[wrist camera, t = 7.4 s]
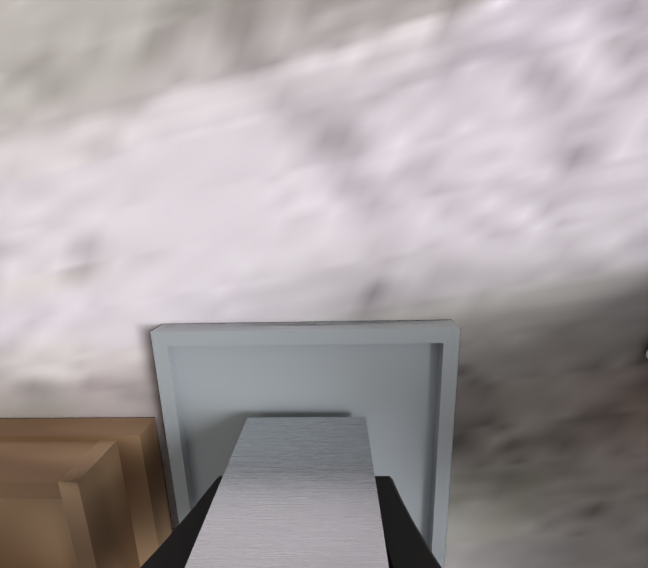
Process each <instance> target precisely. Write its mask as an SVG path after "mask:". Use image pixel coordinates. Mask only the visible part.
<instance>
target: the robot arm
mask: <svg viewBox="0 0 648 568" xmlns="http://www.w3.org/2000/svg"><path fill="white" fill-rule="evenodd" d="M222 477H223V476H219V477H218V478H217V479H216V480H215V481H214V482H213V484H212V485H211V486H210V487H209V489H208V490H207V491H206V492H205V494H204V495H203V496H202V497H201V499H200V500H199V501H198V502H197V503H196V505H195V506H194V507H193V508H192V510H191V511H190V512H189V513H188V514H187V516H186V517H185V518H184V519H183V520H182V521H181V523H180V524H179V525H178V526H177V527H176V528H175V530H174V531H173V532H172V533H171V534H170V535H169V537H168V538H167V539H166V540H165V541H164V542H163V543H162V545H161V546H160V547H159V548H158V549H157V550H156V551H155V552H154V553H153V554H152V555H151V556H150V557H149V559H148V560H147V561H146V562H145V563H144V564H143V565H142V566H141V567H140V568H185V566H186V563H187V561H188V559H189V556H190V554H191V552H192V549H193V547H194V544H195V542H196V540H197V537H198V535H199V532H200V530H201V528H202V525H203V523H204V520H205V518H206V516H207V513H208V511H209V508H210V506H211V504H212V501H213V499H214V496H215V494H216V492H217V489H218V487H219V484H220V482H221V480H222ZM375 480H376V487H377V493H378V500H379V506H380V513H381V519H382V526H383V532H384V539H385V545H386V552H387V558H388V565H389V568H442V567H441V566H440V564H439V563H438V561H437V560H436V558H435V556H434V555H433V553H432V552H431V550H430V548H429V547H428V545H427V543H426V542H425V540H424V538H423V537H422V535H421V533H420V532H419V530H418V528H417V527H416V525H415V523H414V521H413V520H412V518H411V516H410V514H409V512H408V510H407V508H406V507H405V505H404V503H403V501H402V499H401V497H400V495H399V492H398V490H397V488H396V486H395V484H394V481H393V479H392V478H391V477H390V476H375Z"/></svg>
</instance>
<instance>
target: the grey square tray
mask: <svg viewBox="0 0 648 568" xmlns="http://www.w3.org/2000/svg"><path fill="white" fill-rule="evenodd" d="M150 333H151V340H152V346H153V353H154V360H155V366H156V373H157V380H158V387H159V393H160V400H161V407H162V413H163V420H164V427H165V433H166V440H167V447H168V454H169V460H170V467H171V474H172V480H173V487H174V494H175V500H176V507H177V514H178V521H179V524H180V523H181V521H182V520H183V519H184V518H185V517H186V516H187V514H188V513H189V512H190V511H191V510H192V508H193V507H194V506H195V505H196V503H197V502H198V501H199V500H200V499H201V497H202V496H203V495H204V494H205V492H206V491H207V490H208V489H209V487H210V486H211V485H212V484H213V482H214V481H215V480H216V479H217V478H218V477H219V476H223V475H224V472H225V470H226V468H227V465H228V463H229V460H230V458H231V456H232V453H233V451H234V448H235V446H236V444H237V441H238V439H239V436H240V434H241V432H242V429H243V427H244V424H245V422H246V420H247V418H270V417H366V422H367V429H368V435H369V442H370V448H371V455H372V461H373V468H374V474H375V476H390V477H391V478H392V479H393V481H394V484H395V486H396V488H397V490H398V492H399V495H400V497H401V499H402V501H403V503H404V505H405V507H406V508H407V510H408V512H409V514H410V516H411V518H412V520H413V521H414V523H415V525H416V527H417V528H418V530H419V532H420V533H421V535H422V537H423V538H424V540H425V542H426V543H427V545H428V547H429V548H430V550H431V552H432V553H433V555H434V556H435V558H436V560H437V561H438V563H439V564H440V566H441V567H442V568H444V561H445V547H446V532H447V517H448V503H449V488H450V474H451V459H452V445H453V430H454V415H455V401H456V386H457V372H458V357H459V342H460V327H459V326H458V325H457V324H456V323H455V322H454V321H453V320H398V321H330V322H262V323H194V324H162V325H160V326H159V327H157V328H156V329H154V330H153V331H152V332H150Z"/></svg>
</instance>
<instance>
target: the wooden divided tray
mask: <svg viewBox="0 0 648 568" xmlns="http://www.w3.org/2000/svg"><path fill="white" fill-rule="evenodd" d="M172 532H173V531H172V525H171V518H170V512H169V505H168V499H167V493H166V486H165V480H164V473H163V467H162V460H161V454H160V448H159V441H158V435H157V428H156V422H155V418H0V568H140V567H141V566H142V565H143V564H144V563H145V562H146V561H147V560H148V559H149V557H150V556H151V555H152V554H153V553H154V552H155V551H156V550H157V549H158V548H159V547H160V546H161V545H162V543H163V542H164V541H165V540H166V539H167V538H168V537H169V535H170V534H171V533H172Z"/></svg>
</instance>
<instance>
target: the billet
mask: <svg viewBox="0 0 648 568" xmlns="http://www.w3.org/2000/svg"><path fill="white" fill-rule="evenodd" d="M185 568H389V565H388V558H387V552H386V545H385V539H384V532H383V526H382V519H381V513H380V506H379V500H378V493H377V487H376V480H375V474H374V468H373V461H372V455H371V448H370V442H369V435H368V429H367V422H366V417H270V418H247V420H246V422H245V424H244V427H243V429H242V432H241V434H240V436H239V439H238V441H237V444H236V446H235V448H234V451H233V453H232V456H231V458H230V460H229V463H228V465H227V468H226V470H225V472H224V475H223V477H222V480H221V482H220V484H219V487H218V489H217V492H216V494H215V496H214V499H213V501H212V504H211V506H210V508H209V511H208V513H207V516H206V518H205V520H204V523H203V525H202V528H201V530H200V532H199V535H198V537H197V540H196V542H195V544H194V547H193V549H192V552H191V554H190V556H189V559H188V561H187V563H186V566H185Z"/></svg>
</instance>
